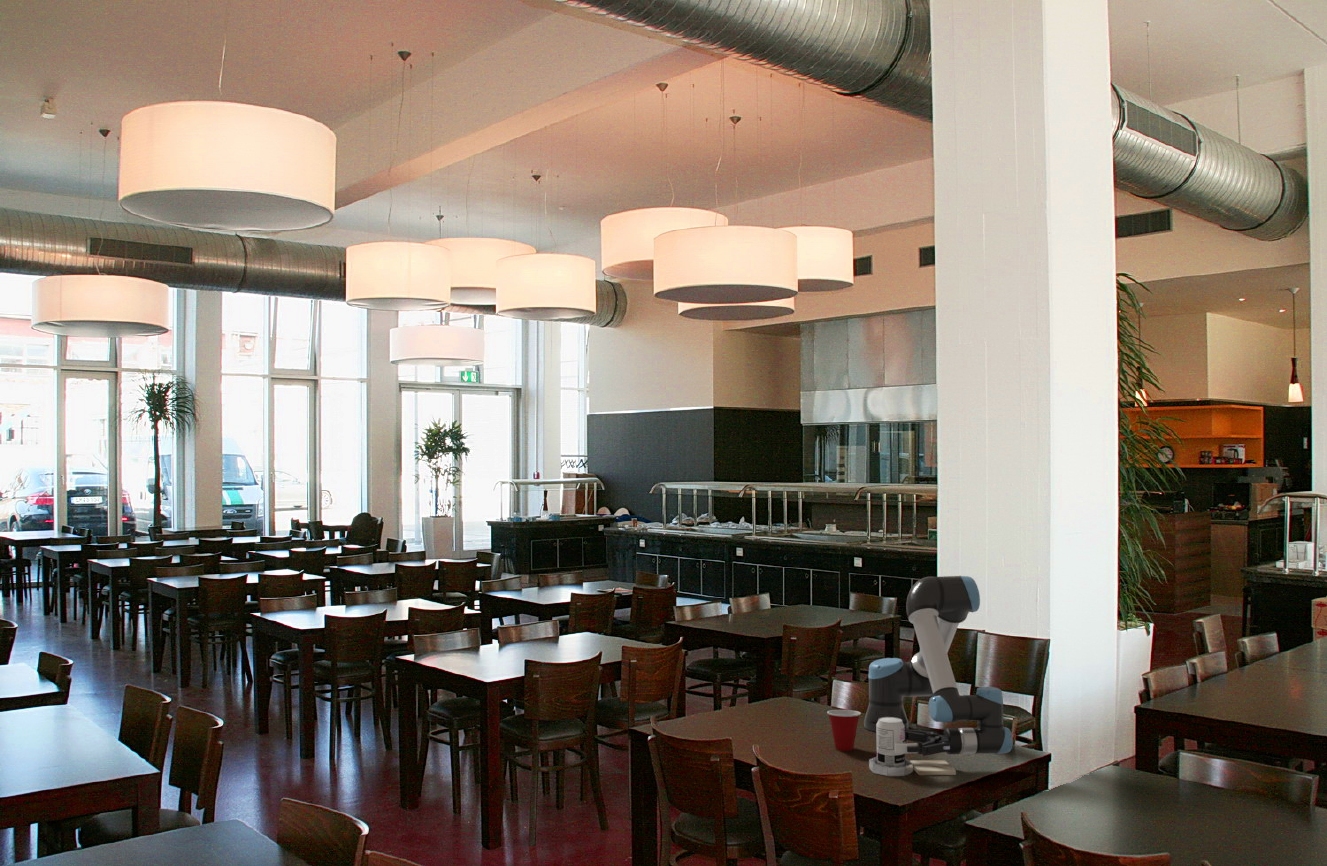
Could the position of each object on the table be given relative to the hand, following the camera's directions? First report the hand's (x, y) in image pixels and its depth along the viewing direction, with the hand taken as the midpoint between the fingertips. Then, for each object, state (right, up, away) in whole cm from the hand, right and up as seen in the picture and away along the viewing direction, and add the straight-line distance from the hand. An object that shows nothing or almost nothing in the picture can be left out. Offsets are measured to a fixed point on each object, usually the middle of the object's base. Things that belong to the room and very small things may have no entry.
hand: (889, 742), depth 313 cm
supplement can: (+1, -9, 0) cm, 9 cm away
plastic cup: (-9, -9, +24) cm, 27 cm away
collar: (+1, -8, 0) cm, 8 cm away
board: (+13, -8, +1) cm, 16 cm away
